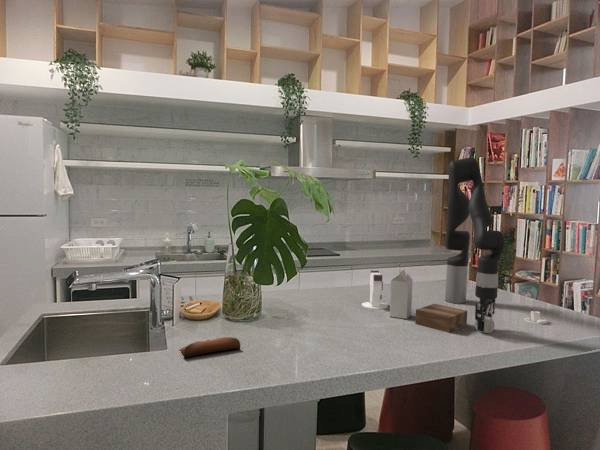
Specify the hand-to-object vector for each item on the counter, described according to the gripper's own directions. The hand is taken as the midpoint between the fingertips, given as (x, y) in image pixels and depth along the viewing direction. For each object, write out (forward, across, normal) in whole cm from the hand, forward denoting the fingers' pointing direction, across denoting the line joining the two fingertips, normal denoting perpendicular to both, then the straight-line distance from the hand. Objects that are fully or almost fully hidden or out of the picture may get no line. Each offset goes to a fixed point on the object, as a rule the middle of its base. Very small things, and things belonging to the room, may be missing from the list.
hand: (484, 328), depth 166 cm
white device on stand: (+1, -1, -48) cm, 48 cm away
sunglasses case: (+2, +83, -55) cm, 100 cm away
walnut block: (+1, +4, -15) cm, 16 cm away
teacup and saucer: (+2, -26, +10) cm, 28 cm away
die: (+1, 0, 0) cm, 1 cm away
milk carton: (+1, +5, -32) cm, 32 cm away
